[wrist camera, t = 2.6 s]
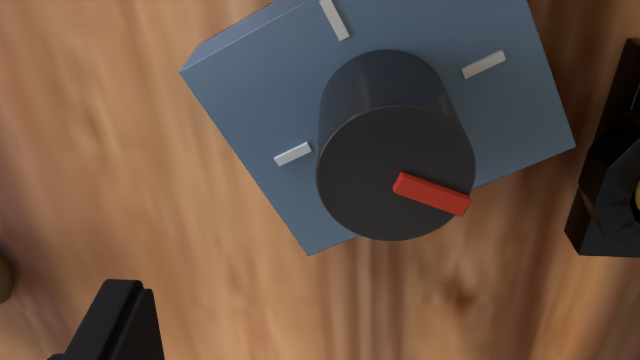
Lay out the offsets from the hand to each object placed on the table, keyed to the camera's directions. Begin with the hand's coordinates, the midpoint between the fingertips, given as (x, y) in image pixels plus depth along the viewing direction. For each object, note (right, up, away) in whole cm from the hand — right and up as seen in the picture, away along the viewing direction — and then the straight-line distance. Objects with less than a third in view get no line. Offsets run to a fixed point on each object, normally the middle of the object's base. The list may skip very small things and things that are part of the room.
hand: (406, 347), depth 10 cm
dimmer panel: (+1, +7, +11) cm, 13 cm away
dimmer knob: (+1, +5, +9) cm, 10 cm away
